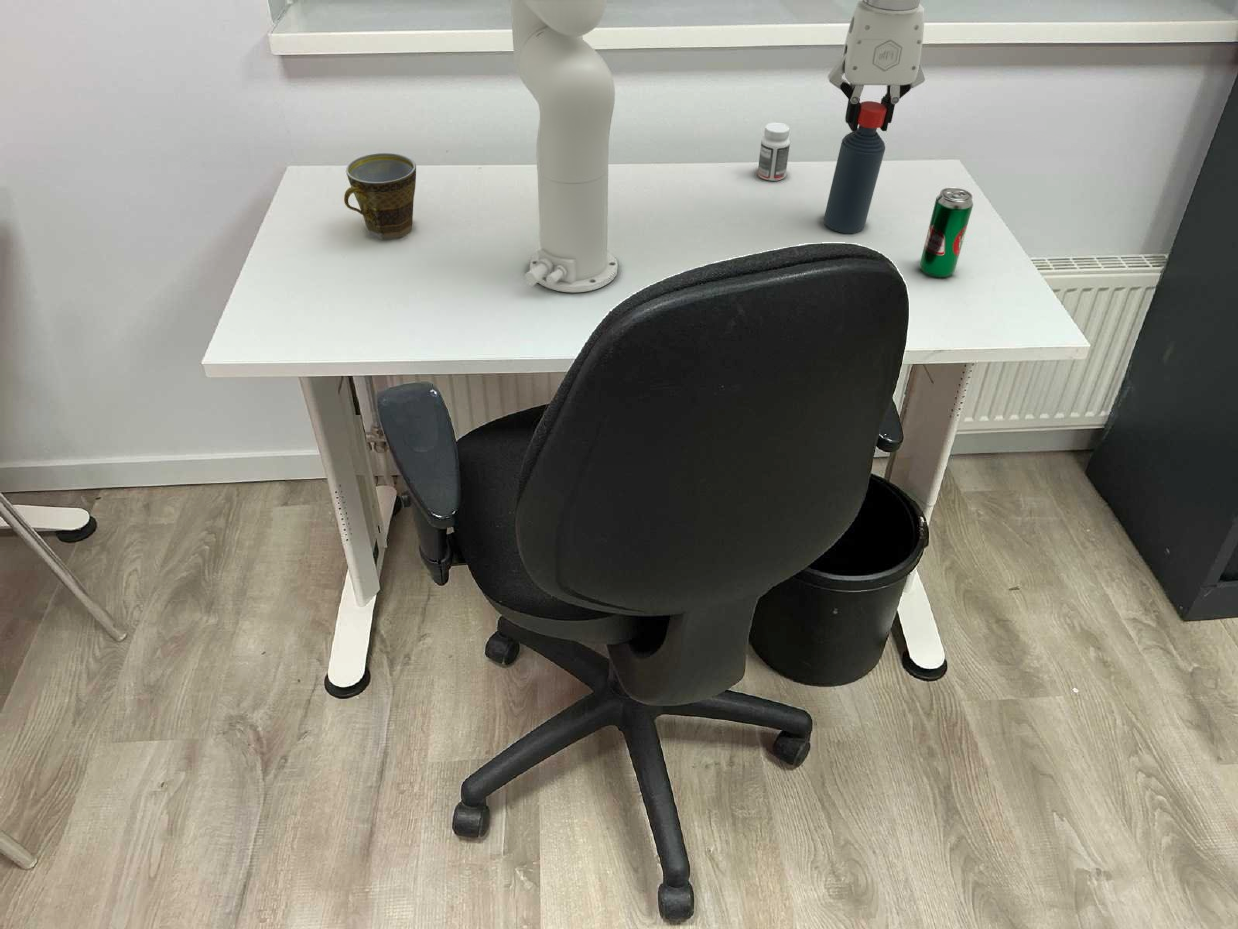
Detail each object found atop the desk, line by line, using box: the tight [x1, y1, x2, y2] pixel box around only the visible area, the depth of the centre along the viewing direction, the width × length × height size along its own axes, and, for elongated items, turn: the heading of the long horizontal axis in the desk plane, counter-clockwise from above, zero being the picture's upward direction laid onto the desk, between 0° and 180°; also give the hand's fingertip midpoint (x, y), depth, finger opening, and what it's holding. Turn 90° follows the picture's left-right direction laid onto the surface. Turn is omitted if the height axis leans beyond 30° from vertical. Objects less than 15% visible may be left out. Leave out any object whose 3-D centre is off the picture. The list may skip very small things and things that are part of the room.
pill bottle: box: [757, 122, 791, 182], centre depth 165 cm, size 5×5×8 cm
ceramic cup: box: [343, 152, 417, 241], centre depth 147 cm, size 13×10×10 cm
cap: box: [858, 100, 887, 129], centre depth 143 cm, size 4×4×2 cm
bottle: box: [823, 124, 886, 234], centre depth 149 cm, size 6×6×18 cm
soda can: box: [919, 187, 974, 279], centre depth 141 cm, size 5×5×12 cm
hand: (867, 126), depth 145 cm, fingers closed on cap, 3 cm apart
